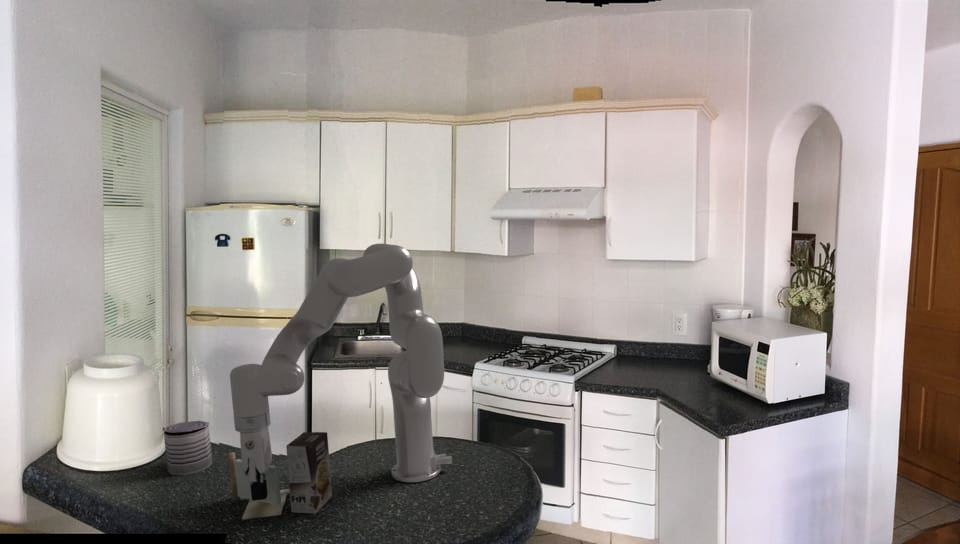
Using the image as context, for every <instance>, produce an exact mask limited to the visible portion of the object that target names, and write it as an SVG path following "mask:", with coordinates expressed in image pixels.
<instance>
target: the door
mask: <svg viewBox="0 0 960 544" xmlns="http://www.w3.org/2000/svg"><path fill="white" fill-rule="evenodd" d="M235 470H236V480H237V490H238V497H239V498H241V497H242V498H247V499H246V500H250V499H251V500H252V497H251V486H250V477H249V473H248V475H247V476H245V475H244V473H243V468H242V458H238V459H236V460H235ZM265 474H266V478H265V479H266V482H267V493H268V495H267V498H266V499H263V500H256V501H260V502H265V503H270V504H274V505H279V504H280V503H281V496H280V490H281V488H280V486H281V485H280V476H279V475H280V474H279V466H278V465H275V464H274V465H272V464H270V466H269V469H268V471H267V472H266V473H265Z"/></svg>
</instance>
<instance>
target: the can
mask: <svg viewBox="0 0 960 544" xmlns="http://www.w3.org/2000/svg"><path fill="white" fill-rule="evenodd" d="M209 424H210V422H207V421H201V420H195V421H182V422H177V423H175V424H170V425H166V426H165V427H164V428H163V429H162V430H161V431H162V432H163V439H164V448H165V457H166V466H167V472H168V473H170V475H172V476H173V475H174V476H186V475H191V474H195V473H200V472H201V471H204V470H205V469H208V468H210V466H211V465H212V463H213V456H212V454H213V453H212V445H211V436H210V426H209Z"/></svg>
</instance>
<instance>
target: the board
mask: <svg viewBox="0 0 960 544" xmlns="http://www.w3.org/2000/svg"><path fill="white" fill-rule="evenodd" d="M280 496H281V503H280V504H279V505H274V504H270V503H265V502H260V501H256V500H255V501H253V500H251V499H248V504H247V505H246V508H245V510H244V512H243V515H242V517H241V519H242V521H243V520H250V519H258V518H266V517H275V516H281V515H282V512H283V509H284V507H283V506H285V503H286V499H287V497H288V494H280Z"/></svg>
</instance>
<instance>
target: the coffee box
mask: <svg viewBox="0 0 960 544" xmlns="http://www.w3.org/2000/svg"><path fill="white" fill-rule="evenodd" d="M328 441H329V438H328V432H324V431H316V432H315V431H312V432H309V431H308V432H307V431H306V432H305V431H304V432H302V433H301V434H299V435H298V436H297V437H296V438H294V439H293V440H292V441H290V442H289V443H288V444H287V445H286V447H285V448H286V459H287V460H286V461H287V470H288V471H287V473H288V481H289V486H288V487H289V489H290V494H289V496H290V497H289V498H290V507H291V513H295V514H297V513H298V514H311V515H315V514H317V513H318V512H319V511H320V510H321V509H322V508H323V507H324V506H325V504H327V502H328V501H329V500H330V499H331V498H332V497H333V488H332V485H333V484H332V477H331V475H332V474H331V463H330V451H329V442H328Z"/></svg>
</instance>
